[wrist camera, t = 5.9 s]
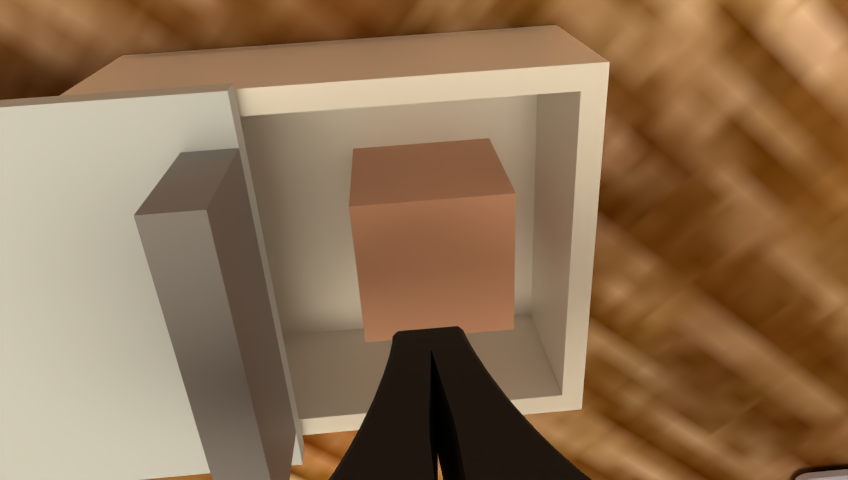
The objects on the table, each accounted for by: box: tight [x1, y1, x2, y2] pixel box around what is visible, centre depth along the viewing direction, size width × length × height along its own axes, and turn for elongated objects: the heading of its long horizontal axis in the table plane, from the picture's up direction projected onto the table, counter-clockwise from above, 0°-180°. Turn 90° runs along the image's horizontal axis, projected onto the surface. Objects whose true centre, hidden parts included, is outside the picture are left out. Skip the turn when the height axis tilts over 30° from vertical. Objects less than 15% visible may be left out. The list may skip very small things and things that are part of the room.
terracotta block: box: [349, 138, 516, 342], centre depth 18 cm, size 4×4×4 cm
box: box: [59, 25, 610, 435], centre depth 18 cm, size 12×10×5 cm
